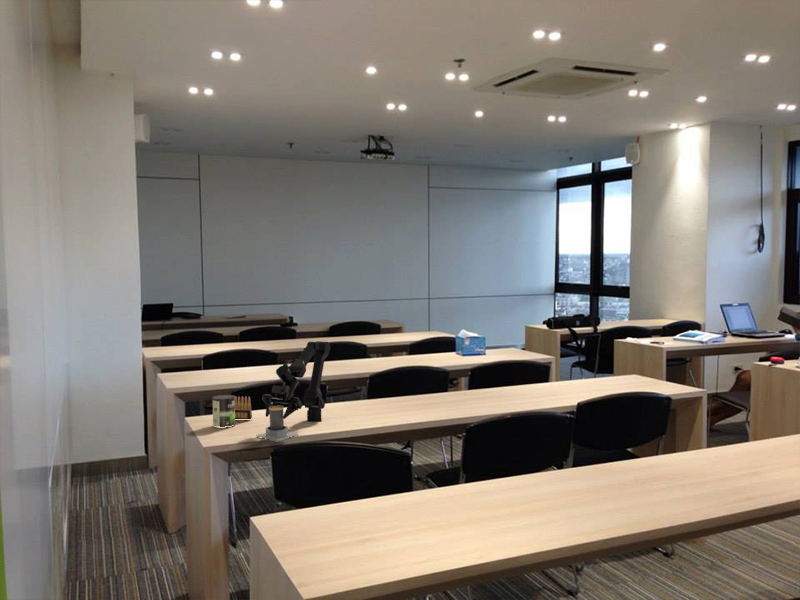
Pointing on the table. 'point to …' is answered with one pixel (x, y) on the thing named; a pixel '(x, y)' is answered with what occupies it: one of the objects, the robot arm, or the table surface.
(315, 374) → the robot arm
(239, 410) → the ammunition clip
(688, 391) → the table surface
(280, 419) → the grey cylindrical piece
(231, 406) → the coffee can
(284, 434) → the duct collar
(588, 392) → the table surface
